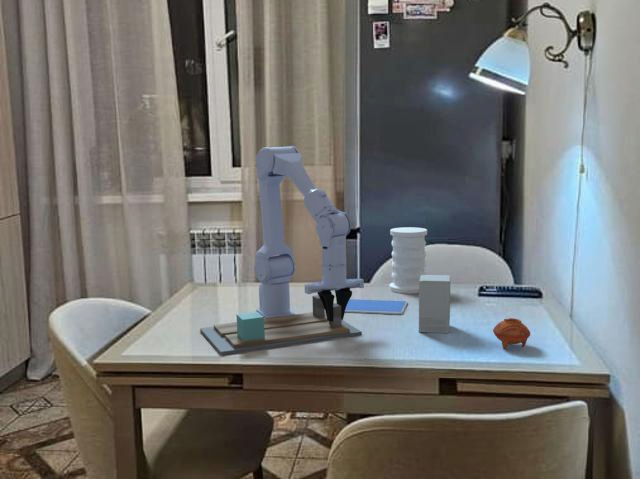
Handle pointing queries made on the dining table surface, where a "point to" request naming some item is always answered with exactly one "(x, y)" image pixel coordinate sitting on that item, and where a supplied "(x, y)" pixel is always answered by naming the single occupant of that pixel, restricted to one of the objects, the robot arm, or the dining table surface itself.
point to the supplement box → (434, 303)
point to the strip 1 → (282, 319)
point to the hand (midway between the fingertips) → (335, 319)
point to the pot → (511, 332)
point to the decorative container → (407, 259)
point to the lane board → (227, 348)
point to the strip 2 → (295, 331)
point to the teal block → (250, 326)
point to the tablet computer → (376, 306)
